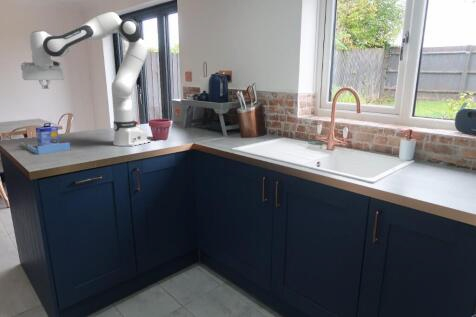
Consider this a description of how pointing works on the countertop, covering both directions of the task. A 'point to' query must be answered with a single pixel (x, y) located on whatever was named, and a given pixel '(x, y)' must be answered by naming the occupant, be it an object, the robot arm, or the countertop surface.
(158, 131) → the plant pot
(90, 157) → the countertop surface
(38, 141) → the ink cartridge box
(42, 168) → the countertop surface
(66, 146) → the light blue tray
